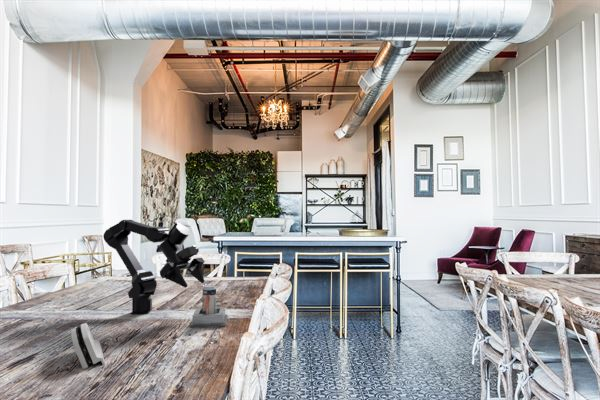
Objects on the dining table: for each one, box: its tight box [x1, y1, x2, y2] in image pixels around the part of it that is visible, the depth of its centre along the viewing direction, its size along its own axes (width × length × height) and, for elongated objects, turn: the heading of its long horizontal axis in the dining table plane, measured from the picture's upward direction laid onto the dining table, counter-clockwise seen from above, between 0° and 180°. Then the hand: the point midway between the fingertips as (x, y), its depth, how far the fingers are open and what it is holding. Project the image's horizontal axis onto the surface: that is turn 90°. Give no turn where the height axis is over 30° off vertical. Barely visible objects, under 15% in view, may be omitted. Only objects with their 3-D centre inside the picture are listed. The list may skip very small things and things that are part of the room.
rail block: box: [189, 306, 228, 329], centre depth 136 cm, size 12×12×4 cm
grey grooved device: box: [70, 322, 106, 369], centre depth 103 cm, size 17×5×10 cm, turn 31°
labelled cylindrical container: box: [201, 284, 217, 314], centre depth 136 cm, size 5×5×12 cm
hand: (195, 284), depth 139 cm, fingers open, 9 cm apart
